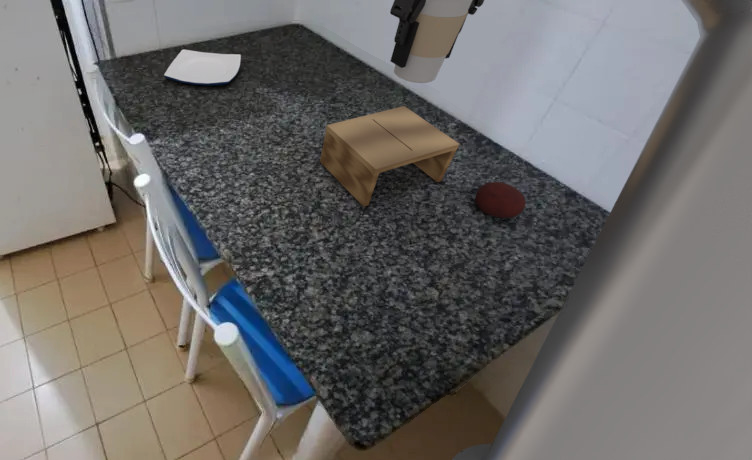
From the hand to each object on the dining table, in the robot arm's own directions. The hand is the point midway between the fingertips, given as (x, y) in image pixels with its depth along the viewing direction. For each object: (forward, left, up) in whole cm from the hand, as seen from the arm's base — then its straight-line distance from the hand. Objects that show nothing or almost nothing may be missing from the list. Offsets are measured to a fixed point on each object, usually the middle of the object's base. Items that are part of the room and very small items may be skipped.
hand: (420, 59), depth 63 cm
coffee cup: (0, 0, -3) cm, 3 cm away
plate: (+62, +16, -26) cm, 69 cm away
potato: (-16, -14, -26) cm, 34 cm away
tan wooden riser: (+3, -2, -25) cm, 26 cm away
